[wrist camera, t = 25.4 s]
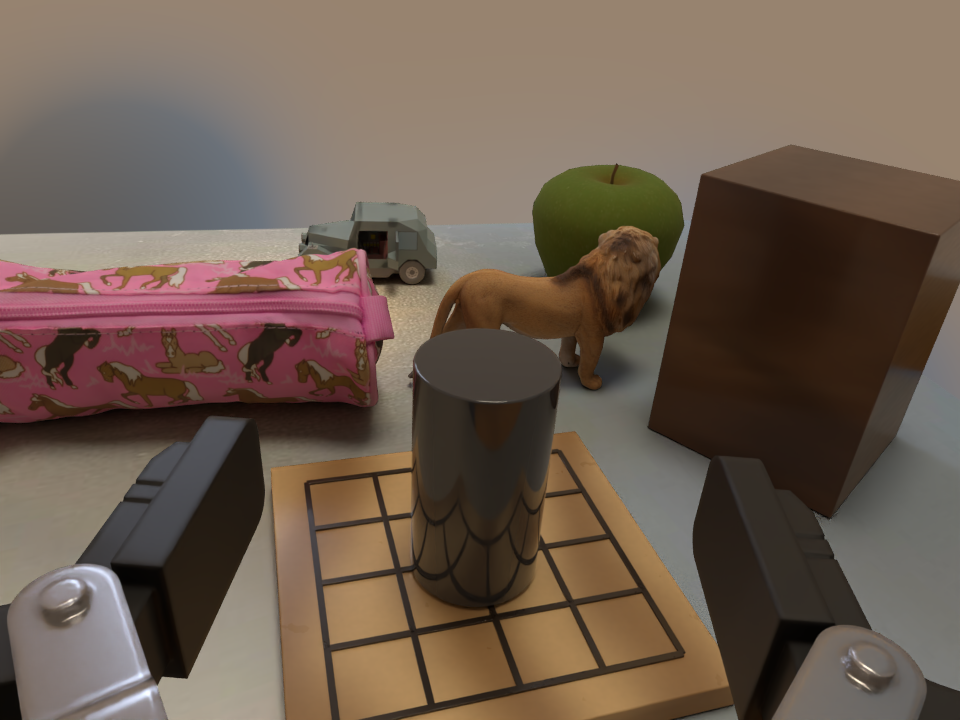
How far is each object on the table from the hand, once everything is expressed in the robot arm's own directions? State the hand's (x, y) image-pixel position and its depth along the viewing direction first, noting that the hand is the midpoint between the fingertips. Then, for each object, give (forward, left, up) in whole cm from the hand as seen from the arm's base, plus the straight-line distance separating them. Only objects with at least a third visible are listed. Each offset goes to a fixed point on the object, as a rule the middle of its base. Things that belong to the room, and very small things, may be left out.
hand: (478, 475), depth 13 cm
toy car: (+33, -25, -15) cm, 44 cm away
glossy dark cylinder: (+7, -8, -13) cm, 17 cm away
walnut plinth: (+3, -28, -14) cm, 32 cm away
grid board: (+7, -8, -14) cm, 18 cm away
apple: (+20, -35, -15) cm, 43 cm away
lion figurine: (+16, -23, -15) cm, 32 cm away
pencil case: (+26, -6, -15) cm, 31 cm away
